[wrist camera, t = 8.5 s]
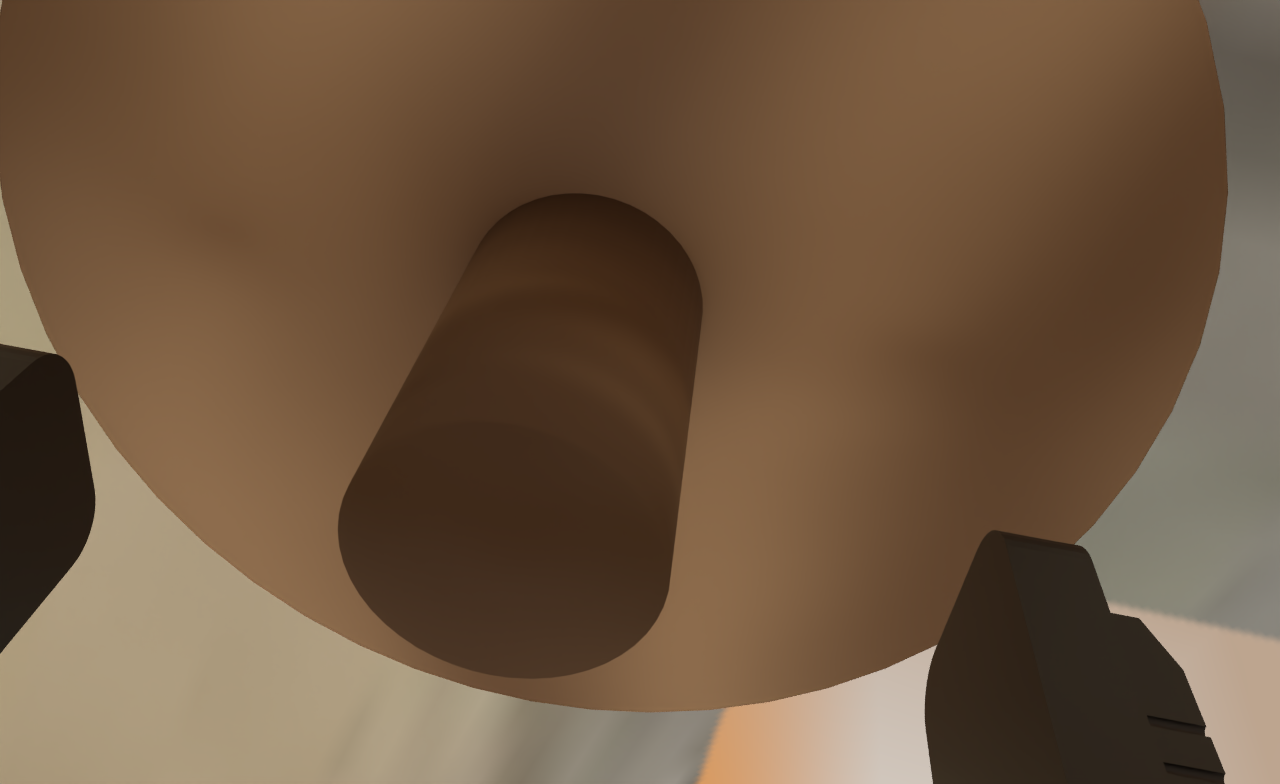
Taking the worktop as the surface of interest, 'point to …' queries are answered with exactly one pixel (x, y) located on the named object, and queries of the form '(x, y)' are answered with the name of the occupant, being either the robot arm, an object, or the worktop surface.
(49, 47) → the lid
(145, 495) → the worktop surface
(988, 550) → the robot arm
